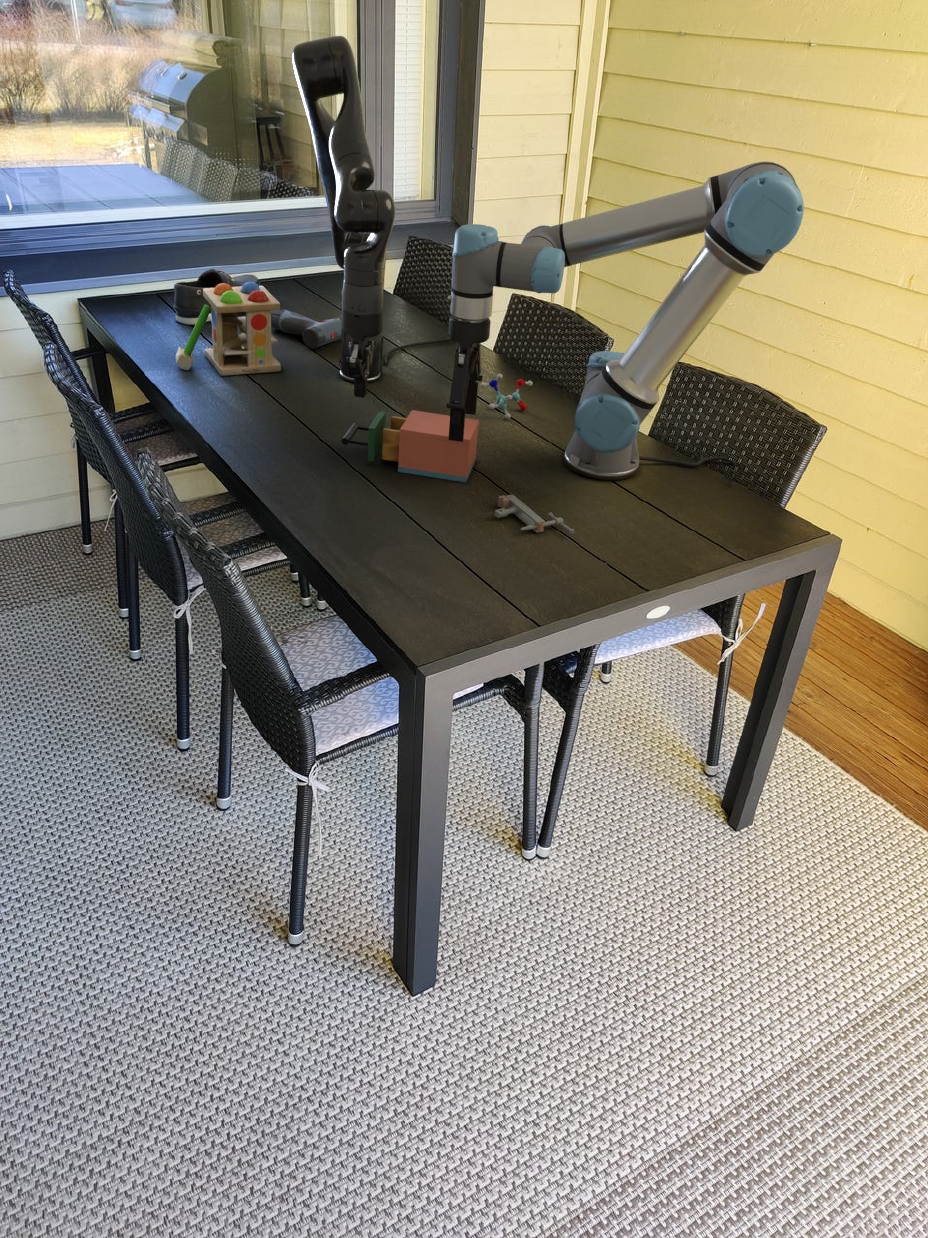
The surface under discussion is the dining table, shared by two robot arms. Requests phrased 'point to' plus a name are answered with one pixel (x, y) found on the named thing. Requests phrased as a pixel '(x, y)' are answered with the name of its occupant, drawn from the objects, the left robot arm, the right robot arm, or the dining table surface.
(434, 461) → the cabinet
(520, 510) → the clamp
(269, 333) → the pounding bench toy
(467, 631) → the dining table surface
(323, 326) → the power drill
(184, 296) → the boat shoe
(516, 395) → the molecular model
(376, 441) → the drawer
